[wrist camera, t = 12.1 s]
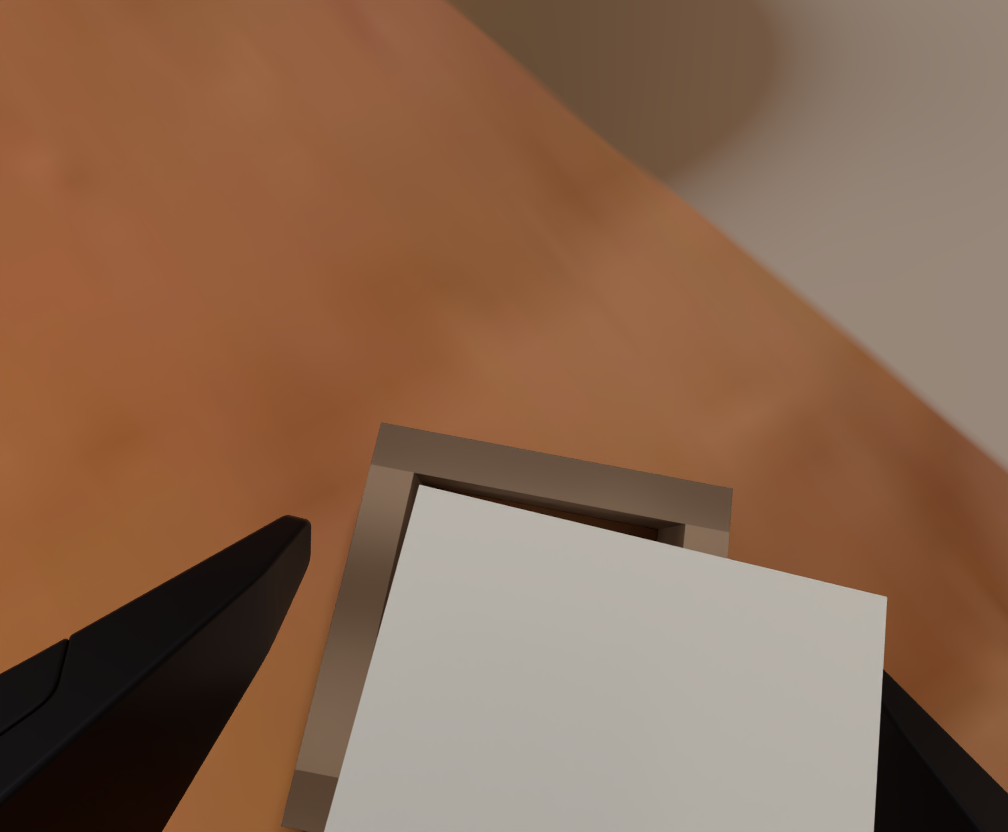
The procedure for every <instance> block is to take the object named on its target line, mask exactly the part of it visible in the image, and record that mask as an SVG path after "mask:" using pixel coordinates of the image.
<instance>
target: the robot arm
mask: <svg viewBox="0 0 1008 832" xmlns="http://www.w3.org/2000/svg"><path fill="white" fill-rule="evenodd" d="M310 555H311V524H310V522H309V521H308V520H307V519H303V518H299V517H295V516H291V515H285V516H282V517H280V518H279V519H277V520H275V521H273V522H272V523H270V524H268V525H266V526H264V527H263V528H261V529H259V530H257V531H255V532H254V533H252V534H250V535H248V536H247V537H245V538H243V539H241V540H239V541H238V542H236V543H234V544H232V545H231V546H229V547H227V548H225V549H223V550H222V551H220V552H218V553H216V554H215V555H213V556H211V557H209V558H207V559H206V560H204V561H202V562H200V563H199V564H197V565H195V566H193V567H191V568H190V569H188V570H186V571H184V572H183V573H181V574H179V575H177V576H175V577H174V578H172V579H170V580H168V581H167V582H165V583H163V584H161V585H159V586H158V587H156V588H154V589H152V590H150V591H149V592H147V593H145V594H143V595H142V596H140V597H138V598H136V599H134V600H133V601H131V602H129V603H127V604H126V605H124V606H122V607H120V608H118V609H117V610H115V611H113V612H111V613H110V614H108V615H106V616H104V617H102V618H101V619H99V620H97V621H95V622H94V623H92V624H90V625H88V626H86V627H85V628H83V629H81V630H79V631H78V632H76V633H74V634H72V635H71V636H70V638H69V640H68V639H63V640H61V641H59V642H58V643H56V644H54V645H52V646H50V647H49V648H47V649H45V650H43V651H42V652H40V653H38V654H36V655H34V656H33V657H31V658H29V659H27V660H25V661H23V662H21V663H20V664H18V665H16V666H14V667H12V668H10V669H8V670H7V671H5V672H3V673H1V674H0V832H162V831H163V829H164V827H165V826H166V824H167V822H168V821H169V819H170V817H171V816H172V814H173V812H174V811H175V809H176V807H177V806H178V804H179V802H180V801H181V799H182V797H183V796H184V794H185V792H186V791H187V789H188V787H189V785H190V784H191V782H192V780H193V779H194V777H195V775H196V774H197V772H198V770H199V769H200V767H201V765H202V764H203V762H204V760H205V759H206V757H207V755H208V754H209V752H210V750H211V749H212V747H213V745H214V744H215V742H216V740H217V739H218V737H219V735H220V734H221V732H222V730H223V728H224V727H225V725H226V723H227V722H228V720H229V718H230V717H231V715H232V713H233V712H234V710H235V708H236V707H237V705H238V703H239V702H240V700H241V698H242V697H243V695H244V693H245V692H246V690H247V688H248V687H249V685H250V683H251V682H252V680H253V678H254V677H255V675H256V673H257V671H258V670H259V668H260V666H261V665H262V663H263V661H264V659H265V658H266V656H267V654H268V652H269V650H270V648H271V646H272V644H273V642H274V640H275V638H276V636H277V633H278V631H279V629H280V627H281V625H282V622H283V620H284V618H285V616H286V614H287V612H288V609H289V607H290V605H291V603H292V601H293V598H294V596H295V594H296V592H297V590H298V587H299V585H300V583H301V581H302V579H303V577H304V574H305V572H306V570H307V567H308V565H309V561H310ZM874 832H1008V793H1007V792H1006V791H1005V790H1004V789H1003V788H1002V787H1001V786H1000V785H999V784H998V783H997V782H996V781H995V780H994V779H993V778H992V777H991V776H990V775H989V774H988V773H987V772H986V771H985V770H984V769H983V768H982V767H981V766H980V765H979V764H978V763H977V762H976V761H975V760H974V759H973V758H972V757H971V756H970V755H969V754H968V753H967V752H966V751H965V750H964V749H963V748H962V747H961V746H960V745H959V744H958V743H957V742H956V741H955V740H954V739H953V738H952V737H951V736H950V735H949V734H948V733H947V732H946V731H945V730H944V729H943V728H942V727H941V726H940V725H939V724H938V723H937V722H936V721H935V720H934V719H933V718H932V717H931V716H930V715H929V714H928V713H927V712H926V711H925V710H924V709H923V708H922V707H921V706H920V705H919V704H918V703H917V702H916V701H915V700H914V699H913V698H912V697H911V696H910V695H909V694H908V693H907V692H906V691H905V690H904V689H903V688H902V687H901V686H900V685H899V684H898V683H897V682H896V681H895V680H894V679H893V678H892V677H891V676H890V675H889V674H888V673H887V672H886V671H885V670H884V669H883V678H882V695H881V713H880V730H879V748H878V765H877V783H876V800H875V818H874Z"/></svg>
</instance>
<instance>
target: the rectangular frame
mask: <svg viewBox="0 0 1008 832" xmlns="http://www.w3.org/2000/svg"><path fill="white" fill-rule="evenodd" d="M419 485H427V486H432V487H438V488H443V489H448V490H453V491H459V492H464V493H469V494H475V495H480V496H485V497H490V498H496V499H501V500H506V501H511V502H517V503H522V504H527V505H533V506H538V507H543V508H548V509H554V510H559V511H564V512H569V513H575V514H580V515H585V516H590V517H596V518H601V519H606V520H612V521H617V522H622V523H627V524H633V525H638V526H643V527H648V528H654V529H658V534H657V542H660V543H664V544H668V545H672V546H677V547H681V548H685V549H689V550H693V551H697V552H702V553H706V554H710V555H714V556H718V557H722V558H726V559H727V555H728V543H729V531H730V518H731V506H732V493H733V489H732V488H726V487H721V486H716V485H710V484H705V483H700V482H694V481H689V480H684V479H679V478H673V477H668V476H663V475H657V474H652V473H647V472H641V471H636V470H631V469H626V468H620V467H615V466H610V465H604V464H599V463H594V462H588V461H583V460H578V459H573V458H567V457H562V456H557V455H551V454H546V453H541V452H535V451H530V450H525V449H520V448H514V447H509V446H504V445H498V444H493V443H488V442H482V441H477V440H472V439H467V438H461V437H456V436H451V435H445V434H440V433H435V432H429V431H424V430H419V429H414V428H408V427H403V426H398V425H392V424H387V423H382V422H381V425H380V429H379V433H378V437H377V441H376V445H375V449H374V453H373V457H372V461H371V465H370V469H369V473H368V477H367V481H366V485H365V489H364V493H363V498H362V502H361V506H360V510H359V514H358V518H357V522H356V526H355V530H354V534H353V538H352V542H351V546H350V550H349V554H348V558H347V562H346V566H345V570H344V574H343V578H342V582H341V586H340V590H339V594H338V598H337V602H336V606H335V610H334V614H333V618H332V622H331V626H330V630H329V634H328V638H327V642H326V647H325V651H324V655H323V659H322V663H321V667H320V671H319V675H318V679H317V683H316V687H315V691H314V695H313V699H312V703H311V707H310V711H309V715H308V719H307V723H306V727H305V731H304V735H303V739H302V743H301V747H300V751H299V755H298V759H297V763H296V767H295V771H294V775H293V779H292V783H291V787H290V791H289V795H288V800H287V804H286V808H285V812H284V816H283V820H282V824H281V826H282V827H287V828H292V829H298V830H303V831H308V832H324V830H325V827H326V823H327V819H328V816H329V812H330V808H331V805H332V801H333V797H334V794H335V790H336V787H337V783H338V779H339V776H340V772H341V768H342V765H343V761H344V757H345V754H346V750H347V747H348V743H349V739H350V736H351V732H352V728H353V725H354V721H355V717H356V714H357V710H358V706H359V703H360V699H361V696H362V692H363V688H364V685H365V681H366V677H367V674H368V670H369V666H370V663H371V659H372V656H373V652H374V648H375V645H376V641H377V637H378V634H379V630H380V626H381V623H382V619H383V615H384V612H385V608H386V605H387V601H388V597H389V594H390V590H391V586H392V583H393V579H394V575H395V572H396V568H397V565H398V561H399V557H400V554H401V550H402V546H403V543H404V539H405V535H406V532H407V528H408V525H409V521H410V517H411V514H412V510H413V506H414V503H415V499H416V495H417V492H418V488H419Z"/></svg>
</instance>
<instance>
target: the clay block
mask: <svg viewBox="0 0 1008 832" xmlns="http://www.w3.org/2000/svg"><path fill="white" fill-rule="evenodd" d="M886 607H887V597H884V596H880V595H876V594H872V593H868V592H864V591H859V590H855V589H851V588H847V587H843V586H839V585H835V584H830V583H826V582H822V581H818V580H814V579H810V578H805V577H801V576H797V575H793V574H789V573H785V572H780V571H776V570H772V569H768V568H764V567H760V566H756V565H751V564H747V563H743V562H739V561H735V560H731V559H726V558H722V557H718V556H714V555H710V554H706V553H702V552H697V551H693V550H689V549H685V548H681V547H677V546H672V545H668V544H664V543H660V542H656V541H652V540H647V539H643V538H639V537H635V536H631V535H627V534H623V533H618V532H614V531H610V530H606V529H602V528H598V527H593V526H589V525H585V524H581V523H577V522H573V521H568V520H564V519H560V518H556V517H552V516H548V515H544V514H539V513H535V512H531V511H527V510H523V509H519V508H514V507H510V506H506V505H502V504H498V503H494V502H490V501H485V500H481V499H477V498H473V497H469V496H465V495H460V494H456V493H452V492H448V491H444V490H440V489H435V488H431V487H427V486H423V485H419V488H418V492H417V495H416V499H415V503H414V506H413V510H412V514H411V517H410V521H409V525H408V528H407V532H406V535H405V539H404V543H403V546H402V550H401V554H400V557H399V561H398V565H397V568H396V572H395V575H394V579H393V583H392V586H391V590H390V594H389V597H388V601H387V605H386V608H385V612H384V615H383V619H382V623H381V626H380V630H379V634H378V637H377V641H376V645H375V648H374V652H373V656H372V659H371V663H370V666H369V670H368V674H367V677H366V681H365V685H364V688H363V692H362V696H361V699H360V703H359V706H358V710H357V714H356V717H355V721H354V725H353V728H352V732H351V736H350V739H349V743H348V747H347V750H346V754H345V757H344V761H343V765H342V768H341V772H340V776H339V779H338V783H337V787H336V790H335V794H334V797H333V801H332V805H331V808H330V812H329V816H328V819H327V823H326V827H325V830H324V832H874V818H875V800H876V783H877V765H878V748H879V730H880V713H881V695H882V678H883V660H884V643H885V625H886Z"/></svg>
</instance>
